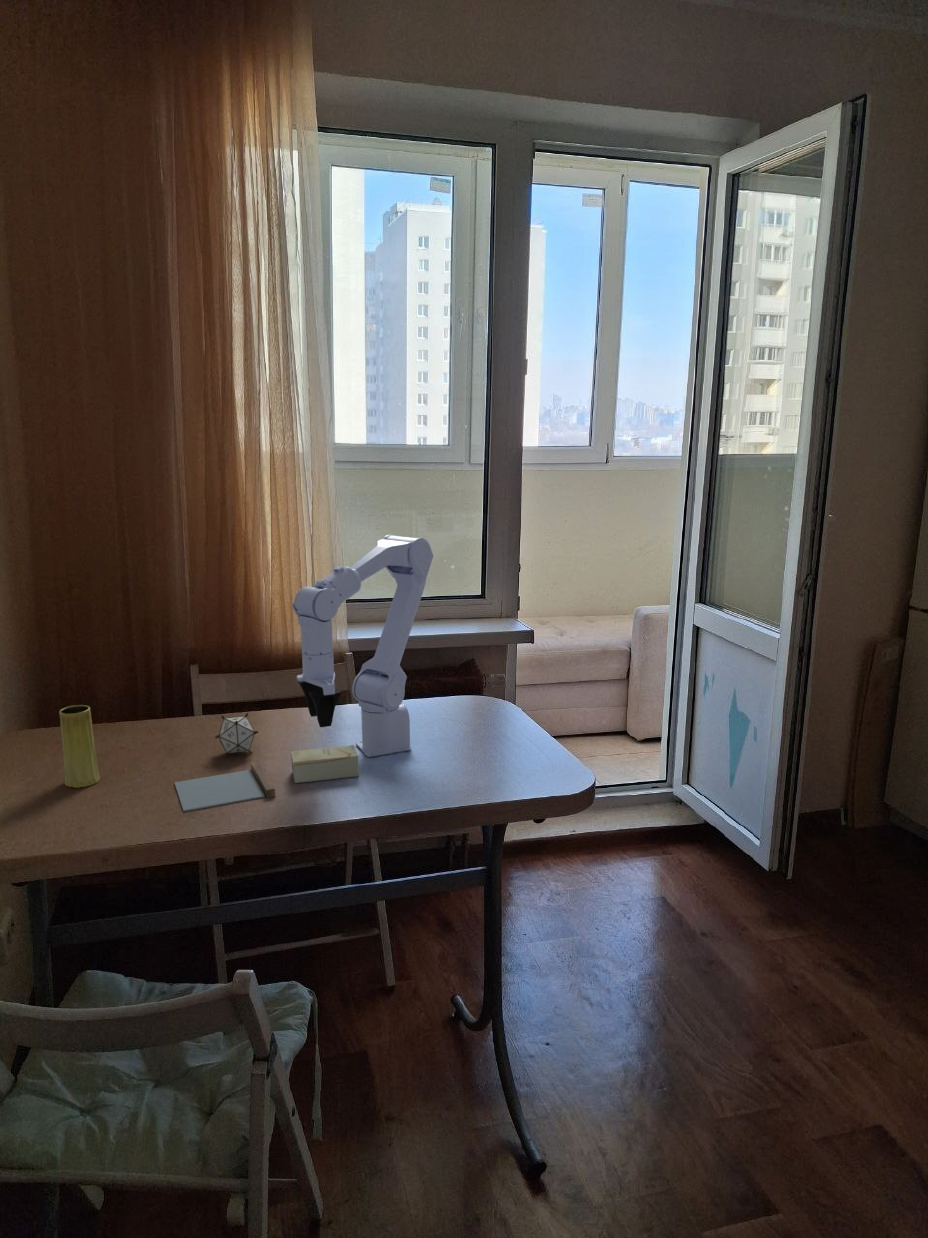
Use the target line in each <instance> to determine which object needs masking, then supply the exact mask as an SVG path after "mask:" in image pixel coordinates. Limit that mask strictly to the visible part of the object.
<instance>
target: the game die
mask: <svg viewBox="0 0 928 1238" xmlns="http://www.w3.org/2000/svg"><path fill="white" fill-rule="evenodd" d="M248 716H249V712H247V713H245V715H241V716H235V717H234V716H233V717H225V716H224V715H221V717H220V718H221V719H222V722H221V725H220V729H219V732H218V735H215V736H214V739H218V741H220V744H221V745H222V748H223V750H224V751H225V753H224V758H226V757H227V756H228V754H235V753H243V752H248V753H249V754H250V755H252V753H253V752H252V751H251V748H252V744H253V740H254V738H255V735H256V734H259V731H258V730H255V729H254V728H253V726H252V723H251V722H250V720H249V718H248Z"/></svg>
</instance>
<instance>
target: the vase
mask: <svg viewBox="0 0 928 1238" xmlns="http://www.w3.org/2000/svg"><path fill="white" fill-rule="evenodd" d="M58 715H59V723H60V724H59V725H60V732H61V733H60V734H61V740H62V741H61V743H62V752H63V753H62V755H63V766H64V767H63V768H64V785H65V786H66V787H67V786H68V787H67V788H71V787H73V789H79V788H80V787H82V788H87V787H90V786H93V785H95V784H96V783H98V782H99V781H100V779H101V775H100V774H99V773H100V772H99V765H98V760H97V759H98V757H97V751H96V747H95V746H96V745H95V737H94V730H93V729H94V728H93V720H92V712H91V707H90V705H84V704H78V705H77V704H76V705H69V706H65V707H62V708H61V709H59V711H58ZM80 789H81V788H80Z"/></svg>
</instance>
